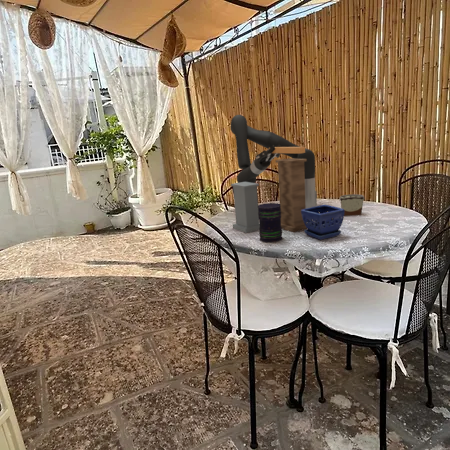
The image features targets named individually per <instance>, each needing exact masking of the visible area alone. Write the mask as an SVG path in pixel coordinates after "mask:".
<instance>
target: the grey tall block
mask: <svg viewBox="0 0 450 450" xmlns="http://www.w3.org/2000/svg"><path fill="white" fill-rule="evenodd" d="M259 186H260V184H259V183H256V182H255V183H250V182H240V183H238V182H235V183H231V184H230V187H232V189H233V201H234V203H233V204H234V212H235V213H234V215H235V223H233V224H232V229H234V230H237V231H240V232H242V233H245V234H247V233H250V232H251V233H252V232H255V231H259V227H260V224H259V218H258V205H259V201H258V187H259Z"/></svg>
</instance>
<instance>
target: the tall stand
mask: <svg viewBox="0 0 450 450" xmlns="http://www.w3.org/2000/svg"><path fill="white" fill-rule="evenodd" d="M305 161H307V159H294V158H291V157H290V158H289V157H288V158H284V159H283V158H281V159H275V164H276V163H277V172H278V173H277V174H278V177H277V178H278V194H279V195H278V196H279V204H280V205H281V207H280V208H281V226H282V230H284V231H288V232H289V233H290V232H291V233H297V232H299V231H300V232H301V231H304V230H308V229H307V228H306V226H305V224H304V221H303V218H302V214H301V210H303V209H306V206H305V172H304V162H305Z"/></svg>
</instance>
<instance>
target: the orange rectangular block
mask: <svg viewBox="0 0 450 450" xmlns="http://www.w3.org/2000/svg"><path fill="white" fill-rule="evenodd" d="M305 148H306V147H305V146H300V147H275V150H274V151H273V152H272V153H305ZM269 149H270V148H269Z"/></svg>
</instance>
